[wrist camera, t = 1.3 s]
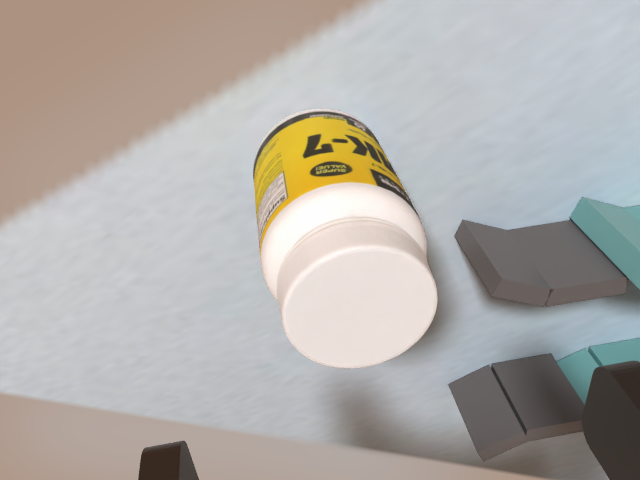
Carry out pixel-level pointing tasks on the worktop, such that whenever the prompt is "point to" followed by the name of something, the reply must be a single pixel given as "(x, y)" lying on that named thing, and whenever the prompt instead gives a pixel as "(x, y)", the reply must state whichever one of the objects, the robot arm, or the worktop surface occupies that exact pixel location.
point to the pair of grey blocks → (537, 289)
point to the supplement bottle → (340, 242)
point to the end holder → (631, 258)
